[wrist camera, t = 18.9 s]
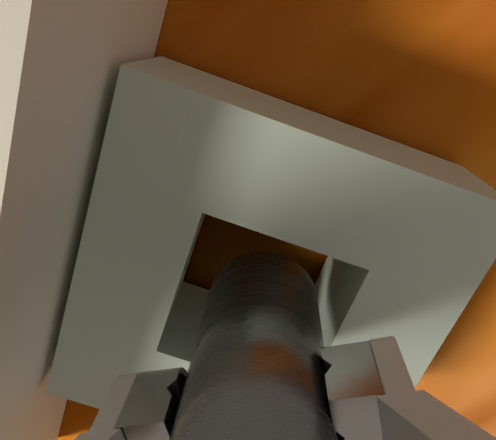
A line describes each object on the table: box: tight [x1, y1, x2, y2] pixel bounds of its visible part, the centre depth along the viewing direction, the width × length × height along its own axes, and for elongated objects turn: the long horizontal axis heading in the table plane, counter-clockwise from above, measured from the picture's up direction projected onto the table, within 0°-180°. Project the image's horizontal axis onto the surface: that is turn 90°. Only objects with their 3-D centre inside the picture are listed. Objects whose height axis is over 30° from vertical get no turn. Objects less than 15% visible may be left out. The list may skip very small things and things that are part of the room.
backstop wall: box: [0, 0, 168, 440], centre depth 12 cm, size 24×2×8 cm, turn 161°
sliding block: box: [46, 56, 496, 409], centre depth 14 cm, size 10×10×4 cm
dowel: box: [169, 252, 338, 440], centre depth 10 cm, size 3×3×7 cm
